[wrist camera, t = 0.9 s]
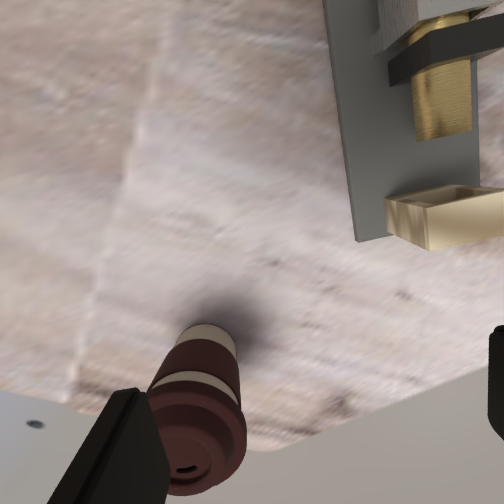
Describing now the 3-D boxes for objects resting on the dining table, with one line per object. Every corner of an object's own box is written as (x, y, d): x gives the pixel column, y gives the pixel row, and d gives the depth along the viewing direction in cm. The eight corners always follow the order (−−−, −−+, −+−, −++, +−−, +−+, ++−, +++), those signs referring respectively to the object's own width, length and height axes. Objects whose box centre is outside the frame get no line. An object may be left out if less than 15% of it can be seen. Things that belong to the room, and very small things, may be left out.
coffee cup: (179, 300, 36) (133, 391, 21) (259, 328, 37) (266, 432, 22) (154, 370, 38) (98, 493, 24) (230, 394, 39) (220, 526, 25)
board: (314, -59, 27) (316, -68, 26) (464, -98, 27) (472, -108, 26) (355, 240, 34) (358, 242, 33) (474, 214, 34) (480, 216, 33)
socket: (383, 198, 32) (426, 208, 24) (448, 184, 32) (512, 189, 24) (387, 231, 33) (429, 251, 25) (450, 218, 33) (512, 233, 25)
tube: (372, -93, 24) (416, -184, 18) (439, -111, 24) (507, -210, 18) (395, 145, 29) (436, 139, 23) (451, 132, 29) (508, 122, 22)
